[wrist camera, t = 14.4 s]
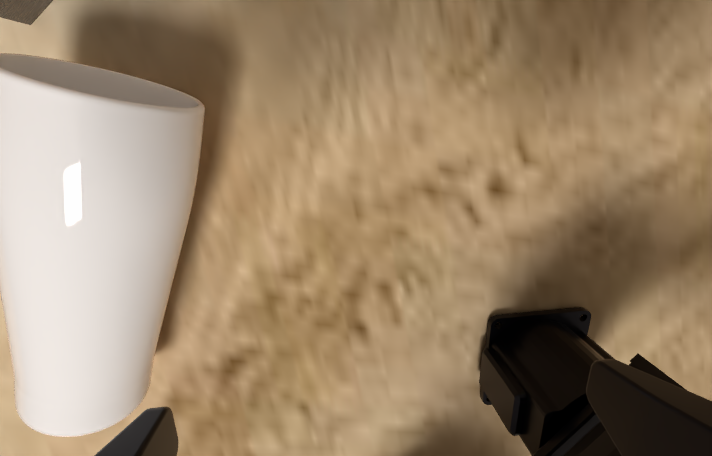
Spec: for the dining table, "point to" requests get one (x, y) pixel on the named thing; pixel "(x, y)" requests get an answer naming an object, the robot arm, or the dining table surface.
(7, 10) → the grey slotted base block
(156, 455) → the robot arm
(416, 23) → the dining table surface
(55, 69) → the drinking glass
